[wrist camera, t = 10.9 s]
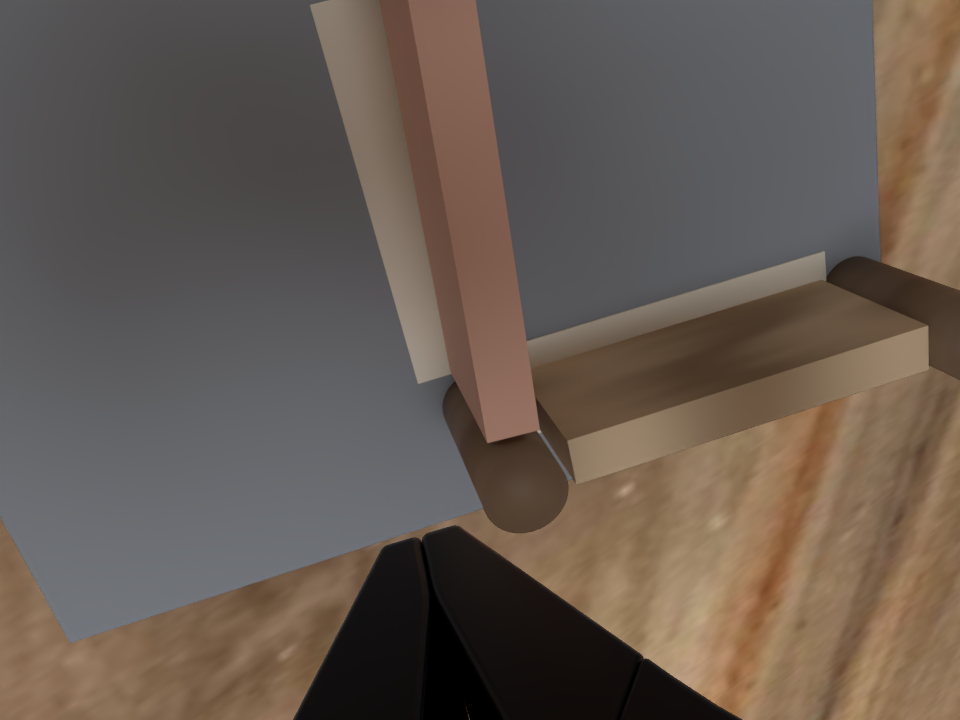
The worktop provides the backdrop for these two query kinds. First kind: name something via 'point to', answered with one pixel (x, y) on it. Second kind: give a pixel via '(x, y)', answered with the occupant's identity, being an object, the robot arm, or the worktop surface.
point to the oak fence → (708, 382)
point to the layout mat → (361, 254)
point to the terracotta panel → (463, 206)
